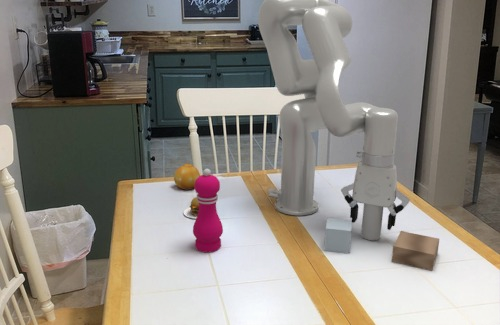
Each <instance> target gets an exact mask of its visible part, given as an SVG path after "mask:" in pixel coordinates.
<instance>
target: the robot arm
mask: <svg viewBox="0 0 500 325" xmlns="http://www.w3.org/2000/svg"><path fill="white" fill-rule="evenodd" d="M257 25H258V29H259V33H260V35H261V38H262V40H263V43H264V45H265V48H266V50H267V55H268V60H269V64H270V67H271V72H272V75H273V78H274V82H275V85H276V88H277V90H278V92H279V93H280V94H281V95H282V96H284V97H285V96H286V97H294V96H300V95H301V96H302V95H304V98H300V99H294V100H292V101H289V102H287V103H286V104H285V105H283V106H282V108H281V109H280V112H279V117H278V119H279V120H278V122H279V127H280V136H281V167H280V168H281V170H280V188H279V189H276V188H271V187H270V188H269V189H268V190H267V191H268V192H267V193H268V197H269V198H272V199H276V200H275V201H274V208H275V210H277V211H278V212H280V213H282V214H285V215H289V216H298V217H299V216H309V215H311V214H314V213H316V212H318V210H319V203H318V202H317V201H316V200H315V199H314V195H315V194H314V191H315V178H316V177H315V172H316V156H317V155H316V153H317V149H316V143H315V141H314V139H313V138H314V137H313V136H312V133H314V132H317V131H321V130H324V129H327V131H328V132H329V133H330V134H331V135H332V136H333V137H338V138H344V137H349V136H352V135H355V134H362V133H363V142H362V143H363V144H362V146H363V147H362V150H361V151H357V152H356V158H359V159H360V161H359V162H358V163H357V166H356V170H355V175H354V181H353V183H351V184H349V185H346V186H343V187H342V188H341V189H340V191H341V194H342V195H343V197H344V200H345V201H346V202H347V204H348V206H349V208H350V214H349V218H350V219H351V221H352V224H354V223H355V222H356V221H357V220H358V219H359V218H358V216H359V204H363V205H364V204H368V205H374V206H379V207H383V208H387V210H388V212H389V214H388V216H387V226H386V230H388V231H390V230H391V229H392V228H393V227H395V225H396V219H397V214H398V213H401V211H403V210H404V209H405V208H406V207H407V206H408V205H409V203H410V201H411V199H410V198H409V197H407V195H405V193H404V194H403V193H402V192H401V191H400V190H398V182H397V181H398V180H397V179H398V177H397V176H398V175H397V166H396V164H395V163H394V160H395V153H396V152H395V151H396V144H397V142H396V141H397V133H398V123H399V114H398V113H397V111H396V110H394V109H392V108H388V107H378V106H376V105H373V104H371V103H368V102H366V101H365V102H364V101H363V102H362V101H359V102H354V103H348V104H344V101H343V99H342V96H341V92H340V89H339V88H340V78H341V75H342V74H343V72H344V70H346V69H347V68H348V67H349V66H350V64H351V62H352V60H351V55H350V53H349V51H348V48H347V46H346V43H345V40H344V38H346V37H347V36H348V35H349V34H351V31H352V28H353V20H352V16H351V14H350V12H349V11H348V9H346V8H345V7H344V6H342V5H340V4H337V3H335V2H333V1H331V0H263V1H262V3H261V4H260V7H259V11H258V16H257ZM289 26H301V28H302V30H303V33H304V37H305V38H306V42H307V44H308V47H309V49H310V52H311V55H312V57H313V59H311V58H310V59H309V58H308V59H303V58H302V56H301V52H300V48H299V45H298V41H297V40H296V38H295V37H294V35H293V33H291V31H290V30H289V29H288V27H289ZM350 191H352V194H350ZM396 199H398V200H400V201H401V202H400V204H398V205H396V203H395V201H396ZM358 203H359V204H358Z"/></svg>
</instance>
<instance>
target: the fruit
mask: <svg viewBox="0 0 500 325" xmlns="http://www.w3.org/2000/svg"><path fill="white" fill-rule="evenodd" d="M199 176H201V173H200V171H199V169H198V168H197V167H195V166H194V165H193V164H191V163H190V162H189V163H188V162H186V163H185V162H184V163H183V164H182V166H179V167H178V168H177V169H176V170H175V173H174V175H173V181H174V183H175V186H177V187H178V188H179V189H182V190H193V189H195V188H194V185H195V181H196V179H197V178H198V177H199Z"/></svg>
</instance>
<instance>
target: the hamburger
mask: <svg viewBox="0 0 500 325" xmlns="http://www.w3.org/2000/svg"><path fill="white" fill-rule="evenodd" d="M189 211H190V213H191V214H192V215H193V216H195V217H192V216H188V213H189ZM198 212H199V202H198V201H197V196H195V197H194V198H192V199H191V201H190V205H189V207H187V208H185V209H184V211H183V215H184V216H185V217H187V218H190V219H194V220H196V218H197V216H198Z"/></svg>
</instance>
